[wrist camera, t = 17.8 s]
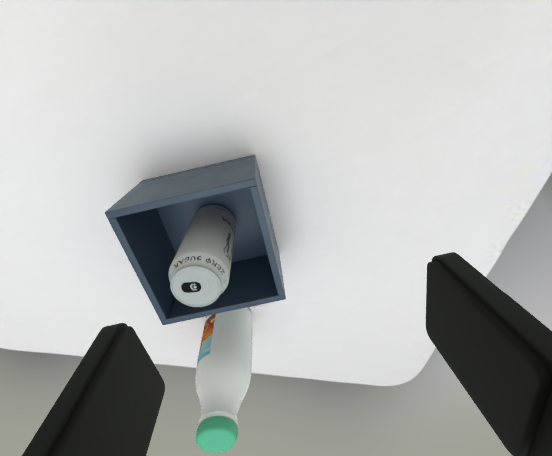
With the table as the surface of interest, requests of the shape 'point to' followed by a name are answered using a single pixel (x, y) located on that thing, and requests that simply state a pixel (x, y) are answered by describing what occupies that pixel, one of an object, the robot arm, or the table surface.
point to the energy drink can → (204, 257)
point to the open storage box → (175, 221)
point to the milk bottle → (223, 377)
